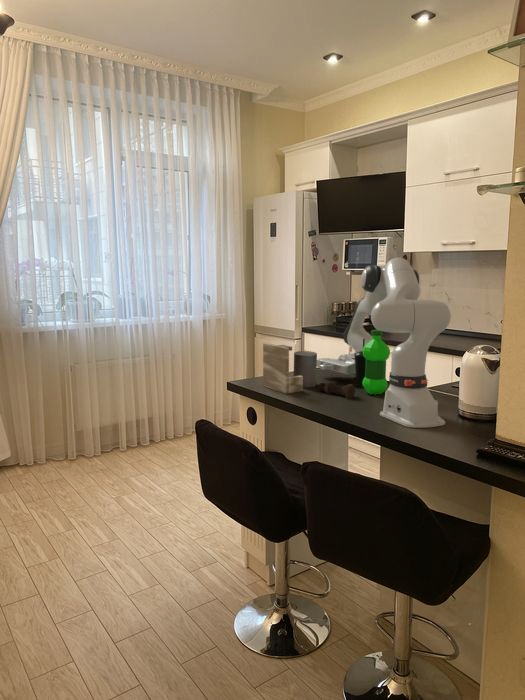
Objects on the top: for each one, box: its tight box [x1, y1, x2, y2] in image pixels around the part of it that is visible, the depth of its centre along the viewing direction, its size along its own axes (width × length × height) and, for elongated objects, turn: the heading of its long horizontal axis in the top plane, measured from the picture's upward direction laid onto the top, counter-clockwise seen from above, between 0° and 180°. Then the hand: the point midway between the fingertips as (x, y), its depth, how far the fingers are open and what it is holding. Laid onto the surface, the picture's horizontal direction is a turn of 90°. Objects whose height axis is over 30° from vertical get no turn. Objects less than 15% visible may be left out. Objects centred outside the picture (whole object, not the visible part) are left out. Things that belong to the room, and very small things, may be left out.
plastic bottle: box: [363, 329, 391, 396], centre depth 210 cm, size 10×10×25 cm
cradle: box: [262, 342, 304, 395], centre depth 218 cm, size 9×16×18 cm, turn 33°
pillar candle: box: [293, 349, 318, 389], centre depth 224 cm, size 10×10×15 cm
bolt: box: [318, 381, 356, 399], centre depth 210 cm, size 6×5×15 cm
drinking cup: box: [354, 339, 366, 388], centre depth 222 cm, size 8×8×20 cm
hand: (321, 367), depth 229 cm, fingers closed
